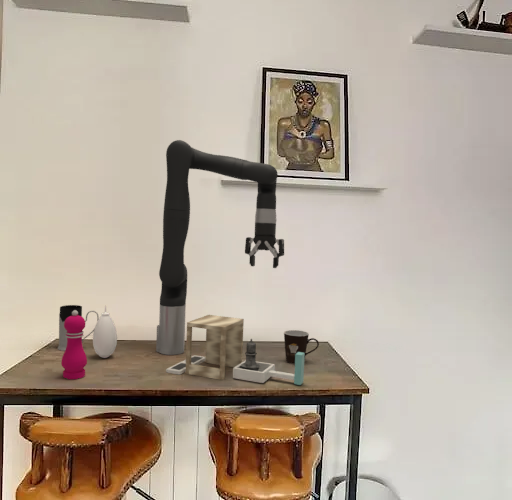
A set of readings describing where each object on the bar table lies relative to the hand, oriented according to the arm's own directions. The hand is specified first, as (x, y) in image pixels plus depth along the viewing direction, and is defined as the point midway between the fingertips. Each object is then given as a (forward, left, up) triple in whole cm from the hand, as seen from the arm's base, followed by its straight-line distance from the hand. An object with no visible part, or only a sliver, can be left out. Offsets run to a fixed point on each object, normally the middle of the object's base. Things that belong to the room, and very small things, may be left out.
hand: (263, 267), depth 174 cm
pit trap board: (-16, -24, -32) cm, 43 cm away
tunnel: (-6, -24, -32) cm, 41 cm away
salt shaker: (+6, -24, -32) cm, 41 cm away
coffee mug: (+15, -2, -32) cm, 36 cm away
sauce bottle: (-46, -29, -32) cm, 63 cm away
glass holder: (-62, -24, -32) cm, 74 cm away
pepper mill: (-41, -49, -32) cm, 72 cm away
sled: (+12, -24, -32) cm, 42 cm away
